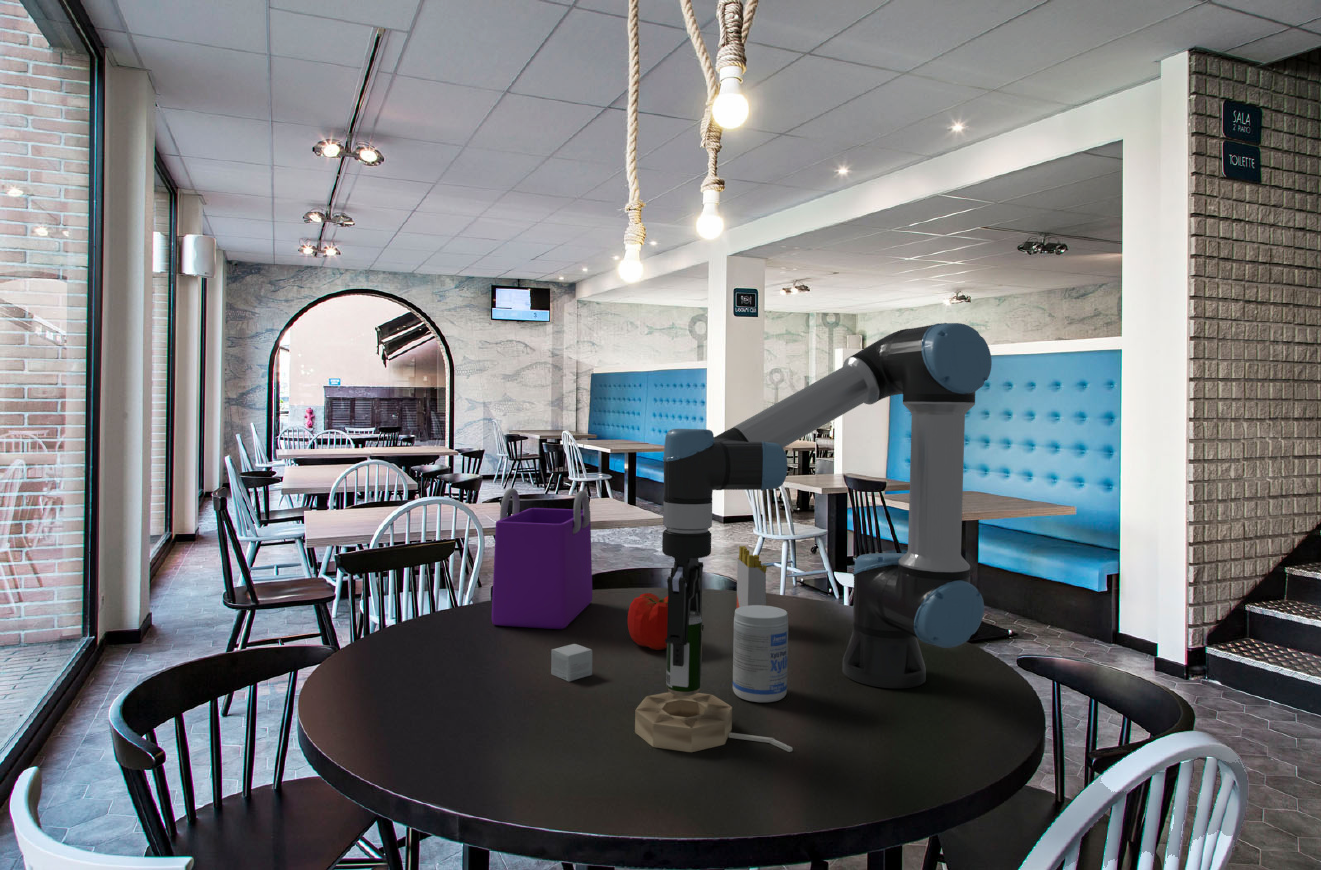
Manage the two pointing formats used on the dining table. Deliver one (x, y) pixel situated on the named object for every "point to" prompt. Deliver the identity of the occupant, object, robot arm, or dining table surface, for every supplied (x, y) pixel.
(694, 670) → the beer can
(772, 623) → the supplement tub
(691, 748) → the tan octagonal bowl
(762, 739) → the drinking straw
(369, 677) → the dining table surface
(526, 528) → the shopping bag
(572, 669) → the small box
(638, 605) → the tomato
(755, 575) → the french fries container
